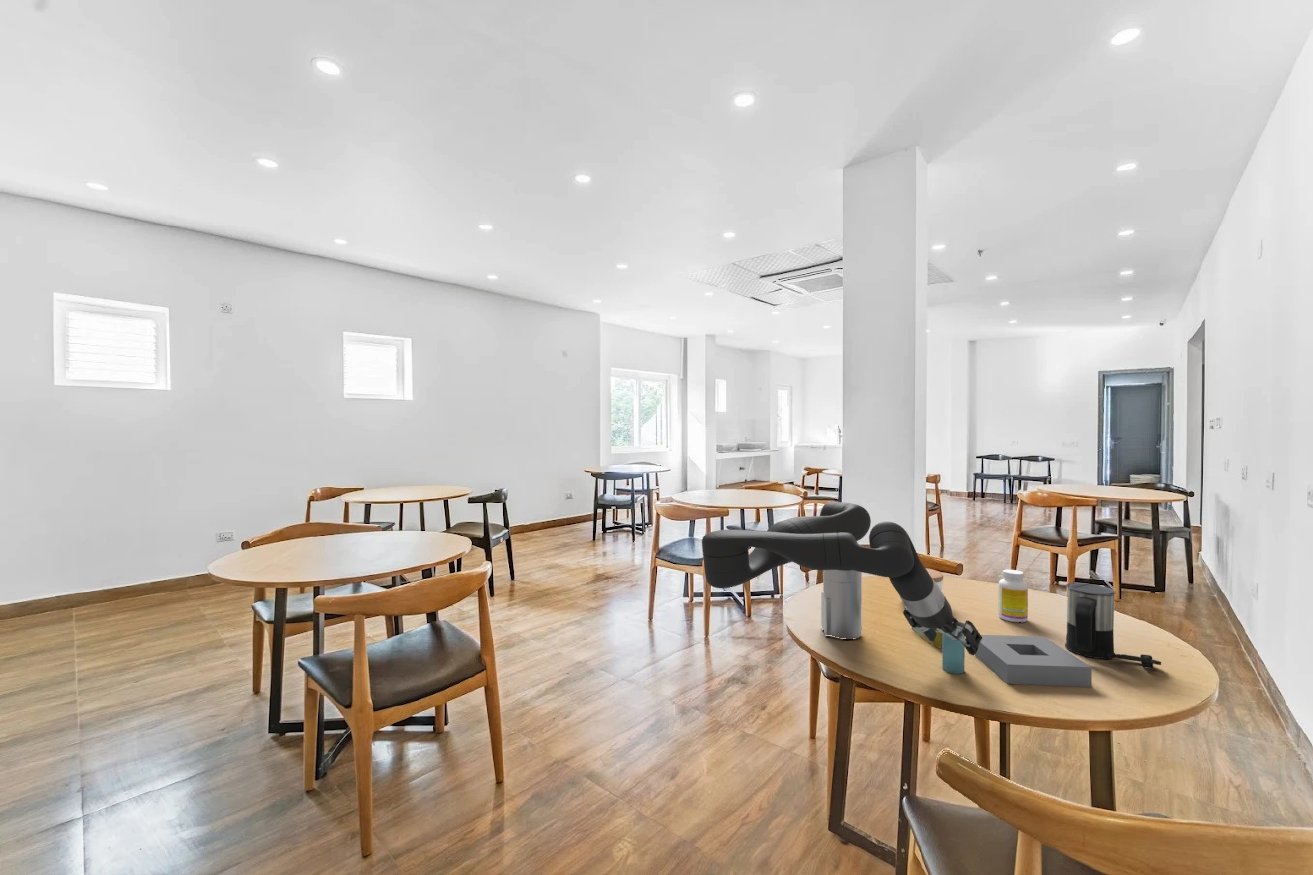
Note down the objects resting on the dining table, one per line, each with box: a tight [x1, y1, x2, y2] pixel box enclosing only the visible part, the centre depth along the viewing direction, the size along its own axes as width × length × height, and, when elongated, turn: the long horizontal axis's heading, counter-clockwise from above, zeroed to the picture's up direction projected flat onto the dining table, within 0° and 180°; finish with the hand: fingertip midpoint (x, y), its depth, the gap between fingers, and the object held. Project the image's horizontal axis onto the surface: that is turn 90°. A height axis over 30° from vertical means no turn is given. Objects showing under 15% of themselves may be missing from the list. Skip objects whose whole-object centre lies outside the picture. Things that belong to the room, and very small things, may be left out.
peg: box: [941, 628, 966, 675], centre depth 119 cm, size 4×4×10 cm
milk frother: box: [1064, 582, 1162, 669], centre depth 125 cm, size 14×16×15 cm
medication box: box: [911, 626, 943, 648], centre depth 137 cm, size 12×3×4 cm, turn 0°
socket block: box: [973, 634, 1093, 688], centre depth 120 cm, size 16×16×4 cm
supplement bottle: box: [997, 569, 1029, 623], centre depth 149 cm, size 7×7×13 cm
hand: (953, 644), depth 118 cm, fingers open, 8 cm apart
